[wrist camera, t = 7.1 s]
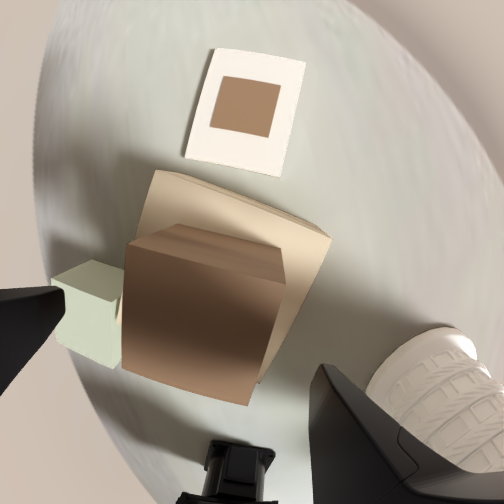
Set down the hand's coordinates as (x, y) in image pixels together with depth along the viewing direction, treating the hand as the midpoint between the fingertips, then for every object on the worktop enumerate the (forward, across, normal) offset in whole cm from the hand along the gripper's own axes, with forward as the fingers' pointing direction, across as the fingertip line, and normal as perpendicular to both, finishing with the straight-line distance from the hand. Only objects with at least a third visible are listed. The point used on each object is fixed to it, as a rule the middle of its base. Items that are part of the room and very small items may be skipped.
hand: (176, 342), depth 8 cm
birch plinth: (+11, 0, 0) cm, 11 cm away
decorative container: (+10, -19, +7) cm, 23 cm away
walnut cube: (+6, 0, 0) cm, 6 cm away
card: (+10, +1, -10) cm, 14 cm away
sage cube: (+10, +8, +5) cm, 14 cm away
